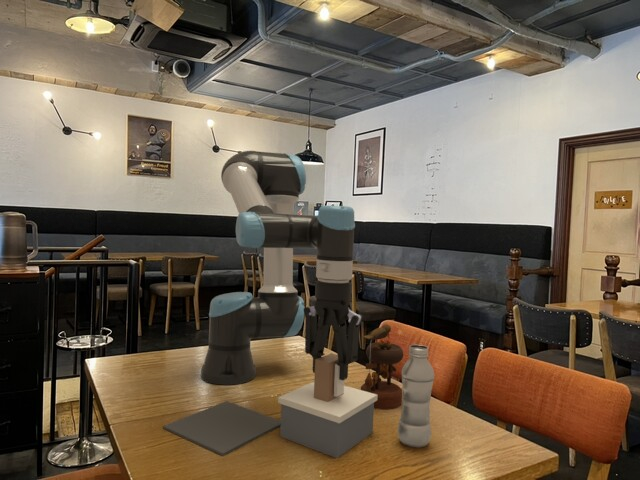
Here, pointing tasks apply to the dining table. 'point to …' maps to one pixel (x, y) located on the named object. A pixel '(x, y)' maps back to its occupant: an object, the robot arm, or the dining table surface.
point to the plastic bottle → (416, 398)
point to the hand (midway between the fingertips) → (329, 391)
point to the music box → (383, 369)
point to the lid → (327, 394)
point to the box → (326, 430)
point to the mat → (223, 427)
